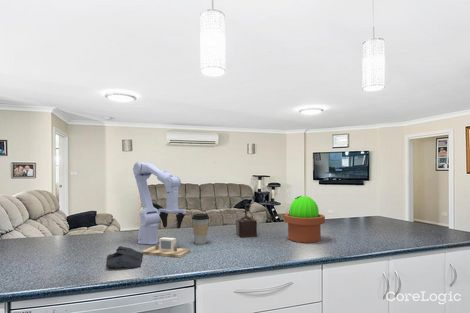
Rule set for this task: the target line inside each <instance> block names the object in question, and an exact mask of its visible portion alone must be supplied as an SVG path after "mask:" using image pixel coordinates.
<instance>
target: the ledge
mask: <svg viewBox="0 0 470 313" xmlns="http://www.w3.org/2000/svg"><path fill="white" fill-rule="evenodd" d="M141 253H143V255H149V256H158V257H168V258H182V257H184V256H186V255H188V254H189V253H191V249H190V248H181V247H179V248H178V244H177V243H176V244H175V251H173V252H169V251H159V242H158V243H155V245H153V246H151V247H148V248H146V249H144V250H142V251H141Z"/></svg>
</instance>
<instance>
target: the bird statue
mask: <svg viewBox="0 0 470 313" xmlns="http://www.w3.org/2000/svg"><path fill="white" fill-rule="evenodd" d="M244 207H245V208H244V210H243V211H242V212H243V213H244V214H245V215H244V216H242V217H240V218H236V219H235V234H236V236H237V237H238V238H243V239H244V238H256V237H258V230H257V229H258V228H257V226H258V223H257V220H256V219H255V218H254V217H252V215H251V216H249V215H247V214H248V213H247V212H251V207H252V206H251V204H250V203H245V205H244Z"/></svg>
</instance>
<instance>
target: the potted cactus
mask: <svg viewBox="0 0 470 313" xmlns="http://www.w3.org/2000/svg"><path fill="white" fill-rule="evenodd" d="M289 206H290V207H289V212H288V213H285V214H283V222H284V223H287V237H288V240H290V241H292V242H295V241H296V242H297V243H301V242H303V244H313V243H312V242H314V243H318V242H320V241H321V238H322V236H321V235H322V234H321V233H322V232H321V231H322V230H321V225H323V224H325V223H326V217H325V215H324V214H320V213H319V212H320V211H319V210H320V209H319V207H318V204H317V202H316V201H315V200H314V199H312V197H310V196H308V195H307V196H306V195H304V196H303V195H298V196H297V197H295V198H294V199H293V200H292V202H291V203H290V205H289Z"/></svg>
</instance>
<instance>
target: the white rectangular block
mask: <svg viewBox="0 0 470 313" xmlns="http://www.w3.org/2000/svg"><path fill="white" fill-rule="evenodd" d="M158 240H159V242H158V246H159V251H169V252H173V251H175V244H177V238H175V237H166V236H165V237H164V236H163V237H161V238H159V239H158Z"/></svg>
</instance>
